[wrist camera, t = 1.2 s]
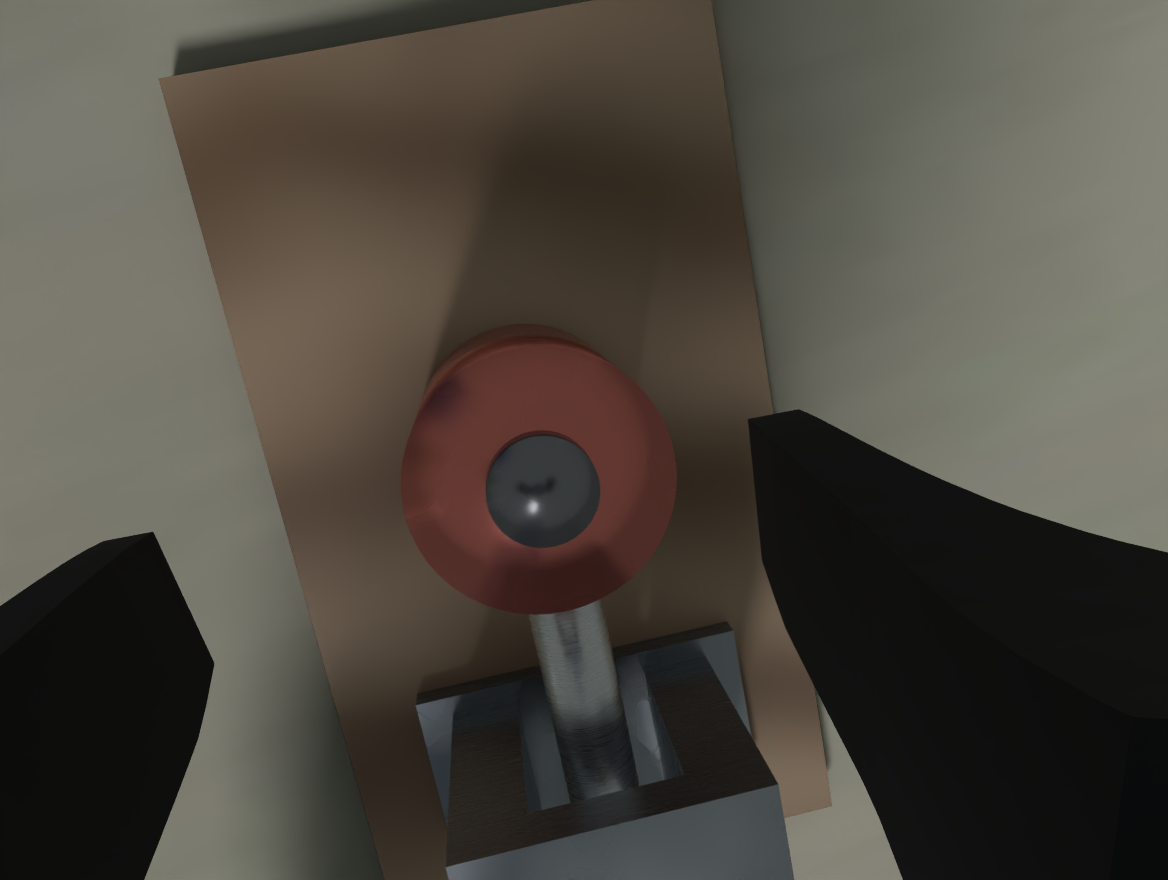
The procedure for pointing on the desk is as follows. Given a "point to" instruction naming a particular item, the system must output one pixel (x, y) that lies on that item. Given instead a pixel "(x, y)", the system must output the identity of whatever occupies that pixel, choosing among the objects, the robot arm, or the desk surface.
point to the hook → (545, 514)
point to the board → (475, 305)
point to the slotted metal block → (620, 819)
